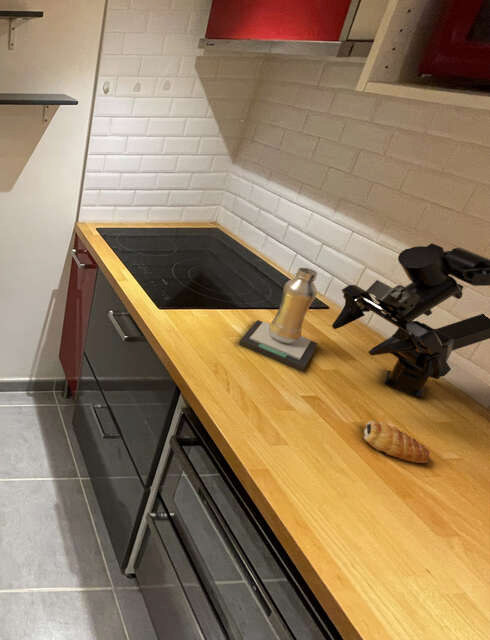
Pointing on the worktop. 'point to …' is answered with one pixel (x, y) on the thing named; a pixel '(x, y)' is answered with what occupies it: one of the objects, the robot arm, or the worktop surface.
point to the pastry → (395, 442)
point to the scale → (278, 346)
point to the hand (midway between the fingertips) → (350, 340)
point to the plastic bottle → (294, 306)
